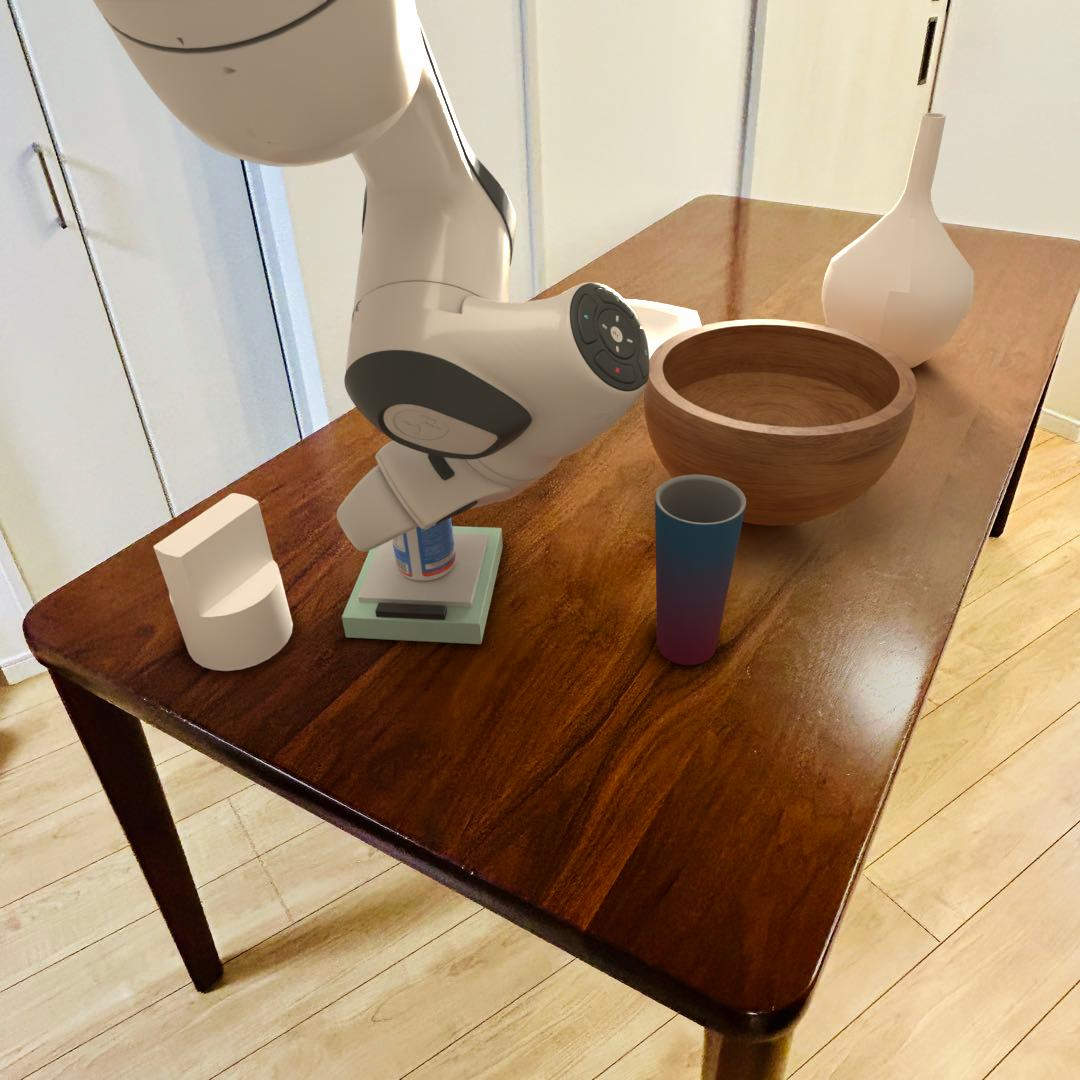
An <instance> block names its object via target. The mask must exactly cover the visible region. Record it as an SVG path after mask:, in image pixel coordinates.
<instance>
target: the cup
mask: <svg viewBox="0 0 1080 1080" xmlns="http://www.w3.org/2000/svg"><path fill="white" fill-rule="evenodd" d="M745 507H746V498H745V496H744V494H743V492H742V491H741V490H740V489H739V488H738V487H736V486H735V485H734V484H732V483H730V482H728V481H726V480H723V479H721V478H717V477H713V476H707V475H684V476H679V477H676V478H672V477H671V478H670V479H668V480H666V481H664V482H663V483H662V484H660V485H659V487H658V488H657V489H656V491H655V493H654V516H655V517H654V519H655V520H654V521H655V524H654V526H655V601H656V602H655V606H656V607H655V610H656V611H655V613H656V615H655V616H656V647H657V649H658V652H659V653H660V654H661V655H662V656H663V657H664V658H665V659H667V660H668V661H670V662H671V663H675V664H677V665H683V666H696V665H700V664H703V663H705V662H707V661H709V660H710V659H711V658H713V657H714V655H715V653H716V650H717V646H718V642H719V641H718V640H719V636H720V631H721V627H722V623H723V622H722V621H723V617H724V613H725V608H726V602H727V597H728V594H729V589H730V584H731V578H732V574H733V569H734V564H735V560H736V555H737V550H738V544H739V540H740V537H741V536H740V535H741V531H742V526H743V523H744V522H743V517H744V512H745Z"/></svg>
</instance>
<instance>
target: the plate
mask: <svg viewBox="0 0 1080 1080" xmlns="http://www.w3.org/2000/svg"><path fill="white" fill-rule="evenodd" d="M624 299H625V300H626V302H627V303H628V304H629V305H630V306H631V308H632V309H633V310H634V312H635V313H636V315H637V317H638V318H639V320H640V322H641V324H642V327H643V329H644V332H645V335H646V338H647V342H648V349H649V360H650V357H651V355H652V354H653V352H654V351H655V350H656V349H657V348H658V347H659V346H660V345H661V344H662V343H664V342H665V341H666V340H668V339H670V338H671V337H673V336H675V335H677V334H679V333H682V332H684V331H687V330H690V329H693V328H696V327H700V326H703V325H702V322H701V319H700V316H699V314H698V310H694V309H690V308H687V307H683V306H681V307H680V306H677V305H672V304H667V303H662V302H657V301H650V300H643V299H638V298H637V299H635V298H624Z"/></svg>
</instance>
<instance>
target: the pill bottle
mask: <svg viewBox="0 0 1080 1080" xmlns="http://www.w3.org/2000/svg"><path fill="white" fill-rule="evenodd" d="M452 526H453V522H452V518H450V519H448V520H446V521H444V522H442V523H440V524H438V525H437V524H436V525H434V526H432V527H430V528H429V529H426V530H423V529H421V528H420V527H419V526H418V527H416V528H414V529H412V530H410V531H408V532H406V533H404V534H402V535H400V536H398V537H396V538H394V539H392V542H393V548H394V554H395V560H396V565H397V568H398V570H399V571H400V573H401V574H402V575H404V576H405V577H407V578H409V579H412V580H418V581H428V580H433V579H437V578H439V577H442V576H444V575H445V574H447V573H448V572H449V571H450V570H451V569H452V568H453V566H454V564H455V561H456V554H455V546H454V538H453V530H452Z"/></svg>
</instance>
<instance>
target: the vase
mask: <svg viewBox="0 0 1080 1080" xmlns="http://www.w3.org/2000/svg"><path fill="white" fill-rule="evenodd" d="M920 117H921V118H920V120H919V121H920V122H919V124H918V130H917V134H916V137H915V138H916V139H915V143H914V146H913V152H912V155H911V159H910V163H909V167H908V172H907V176H906V182H905V187H904V190H903V192H902V194H901V196H900V198H899V199H898V201H897V202H896V203H895V205H894V206H893V207H892V209H890V211H888V212H886V214H885V215H884V216H883V217H882V218H880V219H879V220H877V222H876V223H875V224H874V225H872V226H871V227H870V228H868V230H867V231H865V232H864V233H863V234H862V235H860V236H859V237H858V238H856V239H855V240H854V241H852V242H851V243H849V244H848V245H846V247H844V248H843V249H842V250H840V251H839V252H837V254H835V255H834V256H833V257H832V258H831V259H830V262H829V265H828V267H827V269H826V272H825V274H824V276H823V277H824V278H823V281H822V289H821V295H820V298H821V305H822V310H823V317H824V321H825V326H828V327H832V328H836V329H840V330H844V331H847V332H850V333H853V334H856V335H859V336H862V337H864V338H867V339H869V340H871V341H874V342H876V343H878V344H880V345H882V346H883V347H885V348H887V349H888V350H890V351H892V352H893V353H894V354H896V355H897V356H898V357H900V358H901V359H902V360H903V361H904V362H905V363H906V364H907V365H908V367H909V368H910V369H913V368H916V367H917V366H919V365H921V364H923V363H924V362H926V361H928V360H929V359H931V358H933V357H934V356H936V354H937V353H939V352H940V351H941V350H943V348H944V347H946V345H948V344H949V342H950V341H951V339H952V338H953V337H954V335H955V334H956V332H957V331H958V329H959V328H960V326H961V325H962V323H963V322H964V320H965V319H966V317H967V316H968V315H969V313H970V310H971V307H972V304H973V301H974V297H975V271H974V270H973V267H971V265H970V264H969V263H968V261H967V260H966V259H965V257H964V256H963V254H962V253H961V252H960V250H959V249H958V248H957V246H956V245H955V243H954V241H953V240H952V238H951V237H950V235H949V234H948V232H947V230H946V228H945V227H944V225H943V224H942V222H941V221H940V219H939V217H938V216H937V214H936V212H935V209H934V206H933V202H932V188H933V187H932V186H933V182H934V180H935V179H934V178H935V173H936V169H937V164H938V159H939V155H940V149H941V144H942V138H943V133H944V129H945V123H946V119H947V115H946V114H944V113H939V112H925V113H922V114H921V116H920Z"/></svg>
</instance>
